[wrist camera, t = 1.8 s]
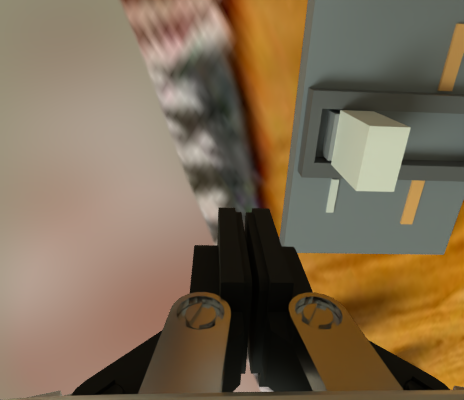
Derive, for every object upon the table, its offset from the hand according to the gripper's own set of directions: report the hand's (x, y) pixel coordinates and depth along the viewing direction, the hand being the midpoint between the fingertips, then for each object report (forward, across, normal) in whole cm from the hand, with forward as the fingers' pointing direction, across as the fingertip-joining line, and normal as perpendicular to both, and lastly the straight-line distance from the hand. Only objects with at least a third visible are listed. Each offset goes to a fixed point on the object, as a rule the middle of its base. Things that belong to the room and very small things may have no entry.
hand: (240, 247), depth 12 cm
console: (+18, -13, 0) cm, 22 cm away
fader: (+16, -9, 0) cm, 18 cm away
